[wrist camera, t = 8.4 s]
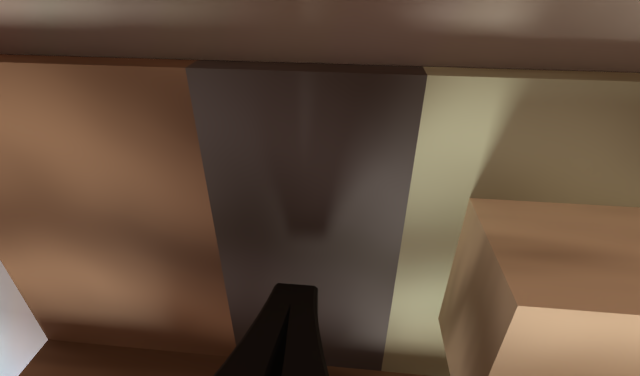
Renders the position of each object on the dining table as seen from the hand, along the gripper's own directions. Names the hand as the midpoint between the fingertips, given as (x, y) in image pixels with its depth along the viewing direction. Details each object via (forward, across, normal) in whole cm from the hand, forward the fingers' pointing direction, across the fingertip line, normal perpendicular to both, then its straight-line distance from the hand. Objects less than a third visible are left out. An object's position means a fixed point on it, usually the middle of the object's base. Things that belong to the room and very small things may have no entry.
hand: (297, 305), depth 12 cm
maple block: (+2, -8, 0) cm, 9 cm away
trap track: (+3, -2, 0) cm, 4 cm away
